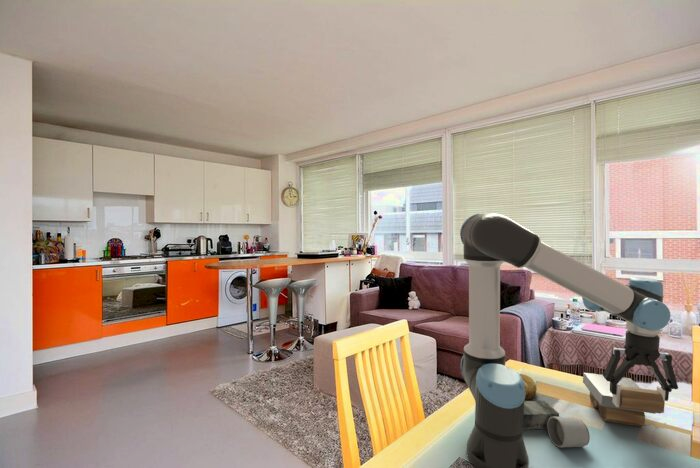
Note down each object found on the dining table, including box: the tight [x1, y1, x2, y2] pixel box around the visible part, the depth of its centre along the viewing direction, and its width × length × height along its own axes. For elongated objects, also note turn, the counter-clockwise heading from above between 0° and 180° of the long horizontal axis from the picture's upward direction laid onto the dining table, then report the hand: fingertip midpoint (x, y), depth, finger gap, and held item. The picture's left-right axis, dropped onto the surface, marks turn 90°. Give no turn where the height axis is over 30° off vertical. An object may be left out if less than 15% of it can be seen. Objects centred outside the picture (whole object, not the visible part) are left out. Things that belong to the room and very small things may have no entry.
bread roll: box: [519, 373, 537, 400], centre depth 127 cm, size 13×10×8 cm
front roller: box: [598, 404, 646, 427], centre depth 112 cm, size 6×10×6 cm, turn 74°
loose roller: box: [619, 386, 665, 414], centre depth 103 cm, size 6×10×6 cm, turn 74°
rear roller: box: [589, 391, 599, 409], centre depth 120 cm, size 6×10×6 cm, turn 74°
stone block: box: [523, 400, 560, 430], centre depth 112 cm, size 9×14×5 cm, turn 91°
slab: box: [582, 372, 656, 415], centre depth 116 cm, size 14×16×4 cm
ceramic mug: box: [546, 416, 591, 448], centre depth 102 cm, size 11×8×8 cm
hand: (637, 407), depth 103 cm, fingers closed on loose roller, 10 cm apart
